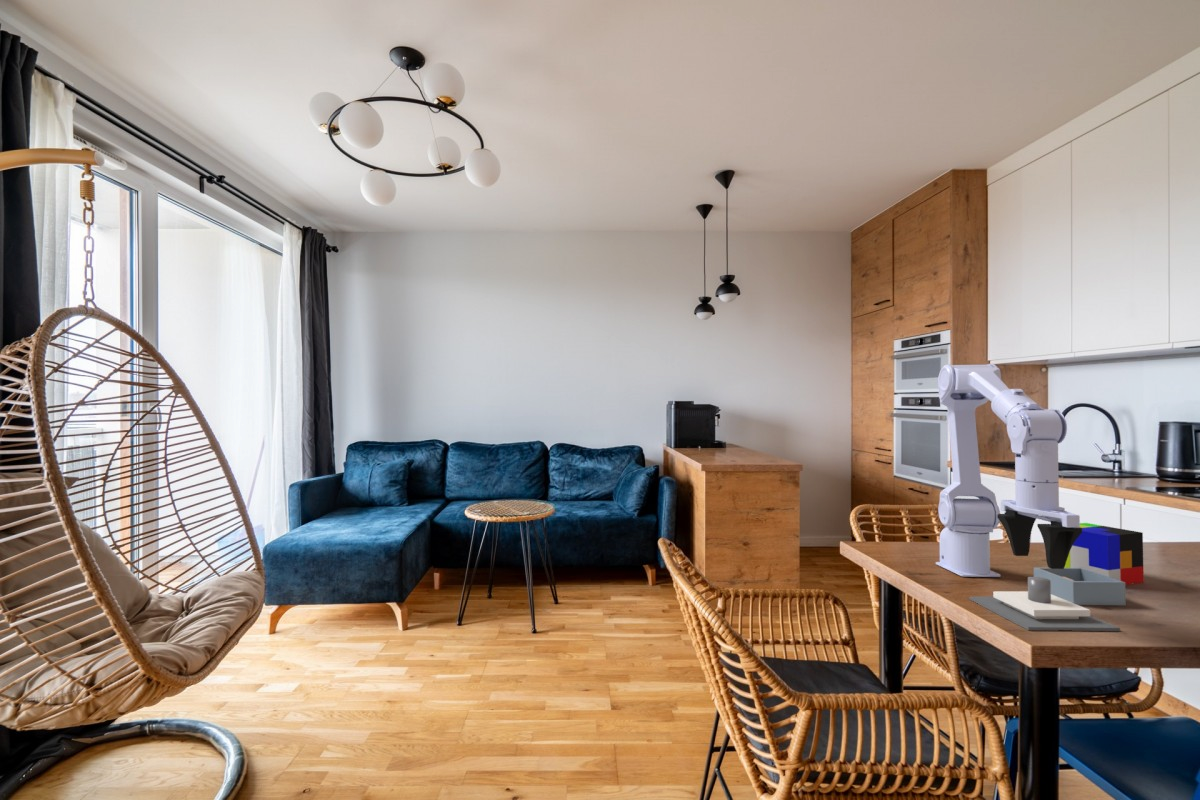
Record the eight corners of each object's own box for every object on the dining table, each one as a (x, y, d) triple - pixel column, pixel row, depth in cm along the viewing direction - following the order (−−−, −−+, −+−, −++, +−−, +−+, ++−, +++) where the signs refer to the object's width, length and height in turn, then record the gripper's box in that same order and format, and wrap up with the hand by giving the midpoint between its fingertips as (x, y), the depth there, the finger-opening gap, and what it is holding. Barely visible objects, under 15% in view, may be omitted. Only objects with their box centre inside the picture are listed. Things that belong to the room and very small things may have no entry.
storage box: (1033, 588, 105) (1033, 567, 105) (1081, 588, 105) (1081, 567, 105) (1073, 604, 96) (1073, 582, 96) (1125, 605, 96) (1125, 582, 96)
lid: (993, 601, 96) (993, 571, 96) (1044, 601, 96) (1043, 571, 96) (1034, 621, 87) (1033, 588, 87) (1090, 621, 87) (1089, 588, 87)
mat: (969, 599, 99) (969, 596, 99) (1047, 599, 98) (1047, 597, 98) (1028, 630, 85) (1028, 627, 85) (1120, 631, 84) (1120, 627, 84)
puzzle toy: (1108, 587, 106) (1107, 535, 106) (1053, 572, 115) (1052, 525, 115) (1143, 582, 108) (1142, 532, 109) (1086, 569, 118) (1085, 522, 118)
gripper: (1099, 487, 85) (1100, 574, 84) (1027, 475, 99) (1028, 550, 99) (1053, 486, 85) (1054, 574, 85) (988, 475, 99) (989, 550, 99)
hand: (1037, 561), depth 92 cm, fingers open, 7 cm apart
